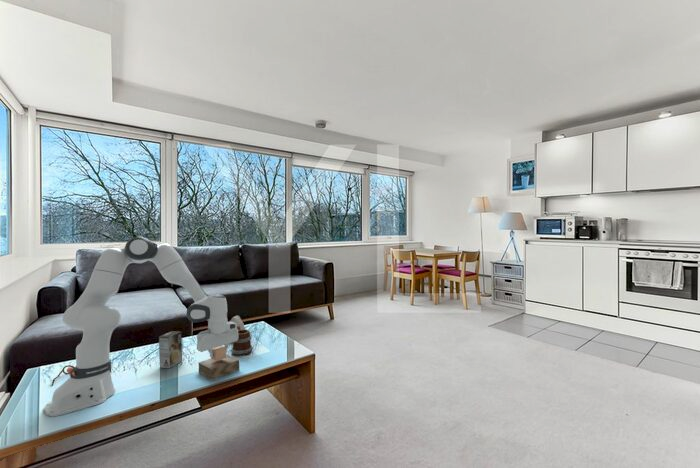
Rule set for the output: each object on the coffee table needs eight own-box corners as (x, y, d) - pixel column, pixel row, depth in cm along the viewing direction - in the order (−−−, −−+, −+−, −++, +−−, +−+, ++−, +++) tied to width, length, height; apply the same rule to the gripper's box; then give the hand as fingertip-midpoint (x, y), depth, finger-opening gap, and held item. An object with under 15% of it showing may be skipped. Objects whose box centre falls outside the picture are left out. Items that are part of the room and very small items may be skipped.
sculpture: (232, 335, 212) (231, 312, 212) (249, 335, 211) (249, 313, 211) (222, 342, 199) (222, 318, 199) (241, 342, 198) (240, 318, 198)
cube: (216, 361, 156) (216, 350, 155) (211, 358, 159) (211, 348, 159) (226, 357, 159) (225, 347, 159) (220, 355, 163) (220, 345, 162)
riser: (212, 380, 150) (212, 369, 150) (198, 372, 158) (198, 362, 158) (239, 369, 161) (239, 359, 160) (225, 363, 169) (225, 353, 169)
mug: (233, 358, 174) (231, 329, 176) (228, 354, 186) (227, 327, 188) (255, 353, 180) (253, 326, 182) (249, 350, 192) (247, 324, 194)
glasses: (96, 370, 163) (95, 360, 163) (86, 382, 151) (85, 371, 151) (63, 375, 158) (63, 365, 158) (50, 387, 146) (49, 376, 146)
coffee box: (172, 360, 173) (171, 330, 173) (182, 361, 172) (182, 331, 172) (159, 367, 164) (158, 336, 164) (170, 368, 163) (169, 337, 163)
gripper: (200, 333, 149) (200, 363, 149) (239, 323, 165) (240, 350, 165) (193, 331, 153) (194, 360, 153) (233, 321, 169) (233, 347, 169)
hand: (218, 354), depth 159 cm, fingers closed on cube, 5 cm apart
